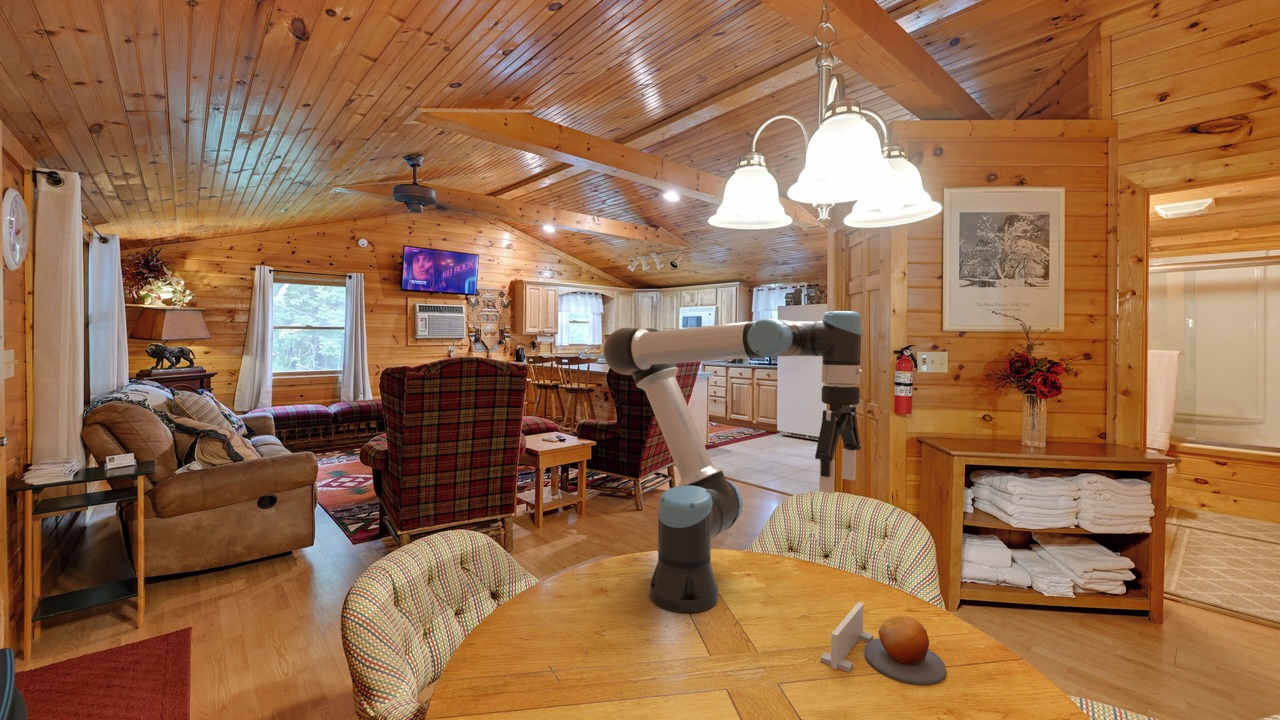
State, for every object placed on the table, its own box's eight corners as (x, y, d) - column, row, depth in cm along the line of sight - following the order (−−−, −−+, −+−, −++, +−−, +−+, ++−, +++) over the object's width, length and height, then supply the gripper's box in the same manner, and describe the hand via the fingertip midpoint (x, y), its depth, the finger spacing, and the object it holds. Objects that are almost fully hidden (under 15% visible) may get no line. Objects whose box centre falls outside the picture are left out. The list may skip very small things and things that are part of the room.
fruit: (947, 666, 91) (922, 623, 92) (903, 684, 93) (879, 642, 93) (931, 640, 99) (908, 601, 100) (891, 657, 100) (869, 619, 101)
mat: (854, 664, 95) (854, 660, 95) (875, 634, 105) (875, 630, 105) (937, 695, 87) (937, 690, 87) (951, 659, 97) (951, 655, 97)
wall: (819, 662, 96) (820, 629, 95) (847, 628, 107) (848, 598, 107) (848, 673, 92) (849, 639, 92) (873, 637, 104) (874, 606, 104)
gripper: (838, 389, 101) (835, 501, 102) (876, 383, 120) (873, 477, 121) (799, 387, 106) (797, 494, 106) (842, 381, 125) (840, 471, 126)
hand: (838, 485), depth 114 cm, fingers open, 13 cm apart
